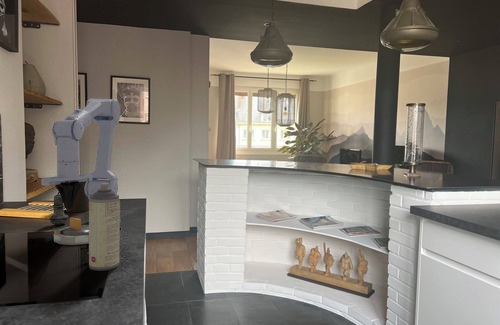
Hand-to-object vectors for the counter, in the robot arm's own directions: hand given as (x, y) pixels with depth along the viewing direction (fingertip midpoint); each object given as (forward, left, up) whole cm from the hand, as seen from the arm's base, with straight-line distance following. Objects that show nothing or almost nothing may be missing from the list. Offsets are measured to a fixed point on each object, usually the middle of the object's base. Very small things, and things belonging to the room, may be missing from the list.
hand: (68, 207), depth 104 cm
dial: (-2, +2, -9) cm, 10 cm away
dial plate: (-2, +2, -10) cm, 11 cm away
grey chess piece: (-6, -18, -10) cm, 22 cm away
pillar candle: (-26, -39, -10) cm, 48 cm away
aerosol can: (+5, +25, -10) cm, 28 cm away
